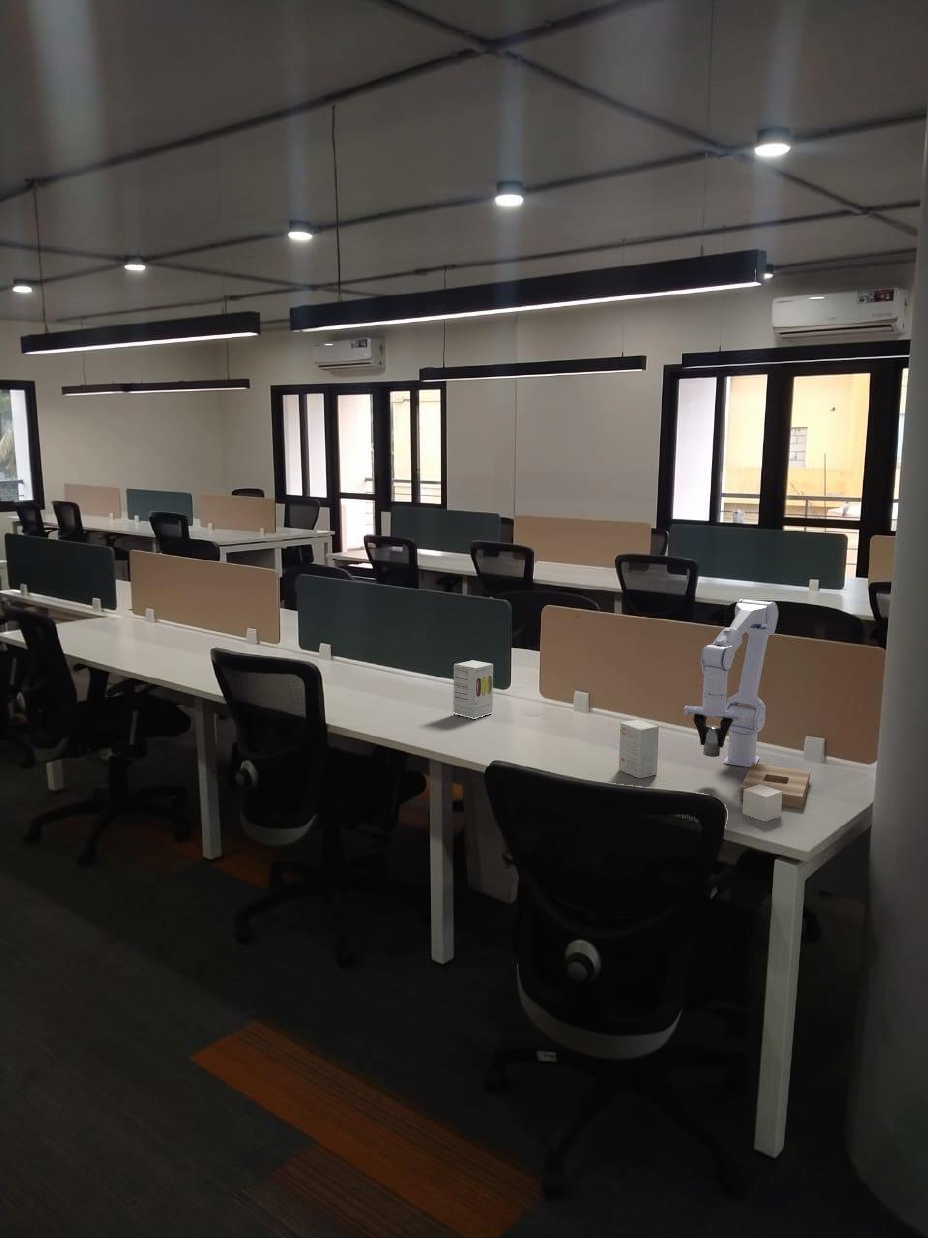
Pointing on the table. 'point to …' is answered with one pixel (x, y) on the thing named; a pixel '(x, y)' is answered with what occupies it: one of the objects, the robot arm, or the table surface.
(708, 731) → the steel pin
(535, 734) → the table surface
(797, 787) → the wooden socket block
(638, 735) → the small box
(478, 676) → the supplement box
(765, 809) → the white cube
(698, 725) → the robot arm
